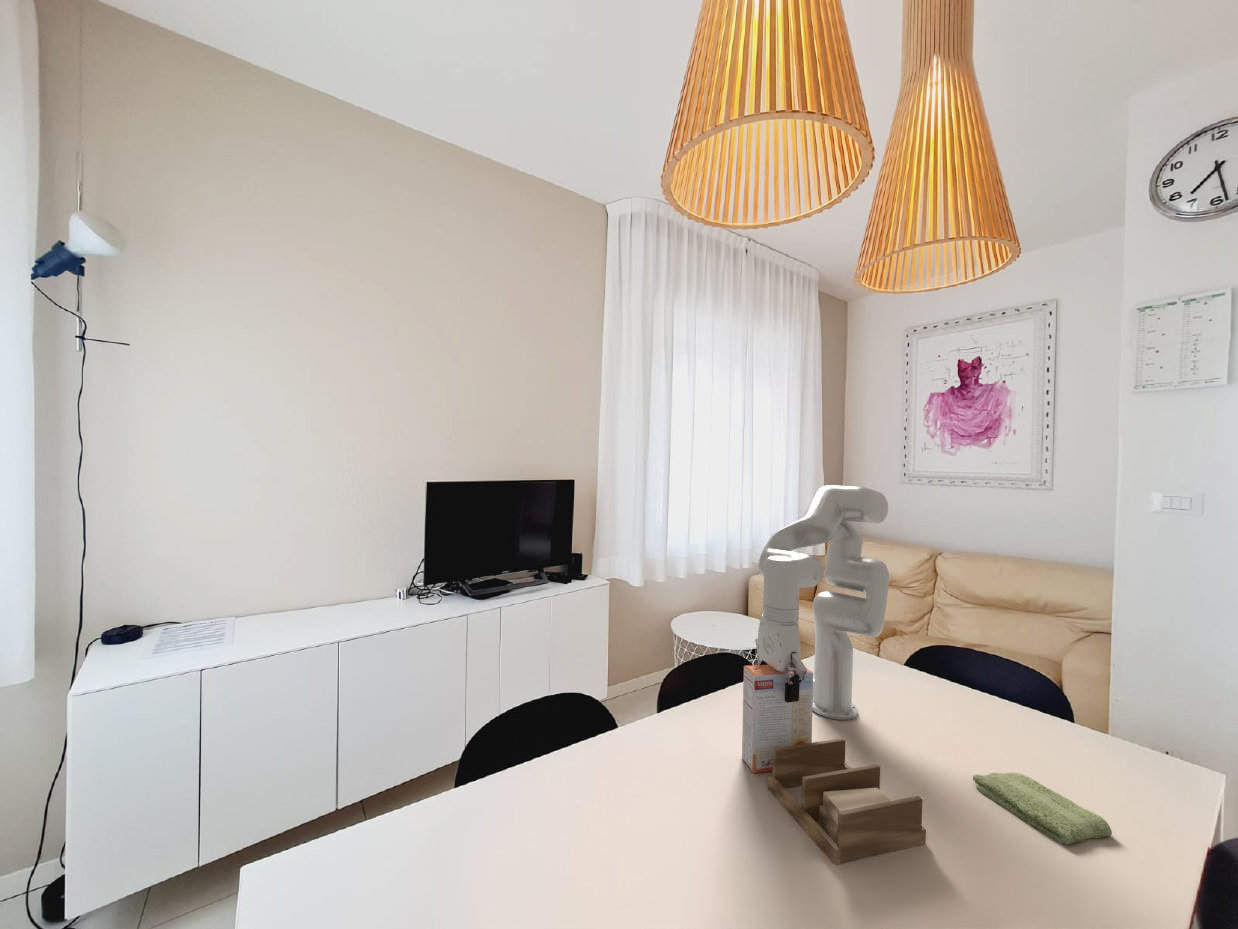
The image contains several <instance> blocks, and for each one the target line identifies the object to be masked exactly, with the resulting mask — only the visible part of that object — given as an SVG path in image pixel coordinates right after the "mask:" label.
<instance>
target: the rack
mask: <svg viewBox="0 0 1238 929" xmlns="http://www.w3.org/2000/svg"><path fill="white" fill-rule="evenodd" d="M846 741H847V740H846V739H845V738H843V737H841V738H836V739H834V738H833V739H828V740H821V741H812V743H806V744H800V745H793V746H786V747H779V748H773V771H772V775H768V776H767V790H768V791H769V792H770V793H771V794H772V795H773V796H774V797H775V799H776V800H777V801H778V802H779V803H780V805H782V806H783V808H784V809H785V810H786V811H787V812H788V814H790V816H792V818H793V819H794V820H795V821H796V822H797V824H798V825H799V826H800V827H801V828H802V829H803V830H804V832H805V833H806V834H807V835H808V836H809V837H810V839H812V841H813V842H814V843H815V844H816V845H817V847H818V848H819V849H821V851H822V852H823V853H824V854H825V856H827V858H828V859H829V860H830V861H831V862H832V864H834V866H836V865H840V864H845V863H848V862H854V861H857V860H862V859H866V858H867V859H868V858H871V857H874V856H879V855H883V854H887V853H891V852H897V851H899V850H904V849H908V848H909V849H910V848H913V847H917V846H922V845H926V840H927V839H926V838H927V828H925V827H924V826H923V824H922V823H923V798H922V797H921V796H920V795H915V796H911V797H906V798H905V797H904V798H901V799H895V800H891V801H889V802H884V803H879V804H874V805H869V806H864V807H859V808H854V809H849V810H844V811H839V812H838V830H837V844H836V843H835V842H834V841H833V840H832V839H831V838H830V837H829V835H828V834H827V832H826V831H825V829H824V828H823V827H821V826H820V825H819V824H818V823H817V821H818V822H819V806H823V792H828V791H840V790H853V789H865V788H878V789H879V790H880V789H881V766H880V765H879V764H870V765H866V766H858V767H853V768H852V767H851V766H850V765H849V764H847V762H846ZM797 787H801V805H800V803H799V802H798V801H797V800H796V799H795V798H794V797H793V795H791V793H790V792H789V791H787V789H789V788H797ZM880 791H881V790H880Z"/></svg>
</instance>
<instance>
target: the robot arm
mask: <svg viewBox="0 0 1238 929" xmlns="http://www.w3.org/2000/svg"><path fill="white" fill-rule="evenodd" d="M888 513H889V504H888V499H887V498H886V496H885V495H884V494H883V493H882V492H880V491H877V490H875V489H872V488H868V487H863V486H855V485H854V486H852V485H836V484H835V485H833V484H831V485H830V484H829V485H824V486H822V487H820V488H818V490H816V491H815V493H814V496H813V497H812V499H811V501H810V503H809V504H808V506H807V508H806V509H805V512H804V513H803V515H802V517H801V519H798V520H795V521H794V522H792V523H790V524H788V525H786V526H785V527H782V528H781V529H779V530H777V531H776V532H775V533H773V534H772V535H771V537H770V538H769V539H768V541H767V543H766V544H765V546H764V547H763V549H762V552H761V553H760V555H759V556H760V557H759V559H758V570H759V573H760V575H761V576H762V577H763V593H762V594H763V595H762V596H763V597H762V599H763V600H762V614H761V616H760V621H759V625H758V631H757V633H758V634H757V638H756V639H755V640H754V641H755V646H756V655H757V656H758V657H757V662H758V665H770V666H771V667H773V668H774V669H776V670H777V671H779V672H783V671H784V674H785V677H786V680H787V683H785V701H786V702H787V703H789V702H797V701H799V687H800V684H801V683H802V681H803V680H804V676H805V674H806V672H807V669H808V668H807V667H806V666H805V664H804V663H803V661H802V660H801V655H802V654H801V636H800V634H801V633H800V627H799V615H800V614H799V610H800V589H807V588H810V589H811V588H813V587H815V586H817V585H818V584H820V583H821V581H822V580H823V577H824V579H825V580H824V581H825V582H826V583H827V584H828V585H829V586H832V587H833V588H834V587H835V588H837V589H838V588H839V589H843V590H846V591H851V592H857V593H862V594H864V595H865V597H861V596H855V595H851V594H845V593H842V592H837V591H836V592H835V591H828V590H827V591H822V592H821V591H820V592H819V593H818V594H816V595H815V597H814V598H813V600H812V601H813V602H812V614H813V621H814V630H815V633H814V634H815V635H814V636H815V639H814V640H815V643H814V644H815V647H814V671H813V706H812V712H815V713H816V714H818V715H820V716H823V717H826V718H829V719H833V720H841V721H848V720H852V719H855V718H856V717H858V713H859V712H858V711H859V710H858V707H857V706H856V705H855V704H854V703H853V702H852V698H853V671H854V670H853V669H854V668H853V667H854V666H853V665H854V647H853V646H854V645H853V642H852V640H851V638H850V636H849V634H848V633H852V634H856V635H860V636H864V637H870V638H877V637H878V636H880V635H881V633H882V632H883V629H884V625H885V619H886V611H887V610H886V609H887V601H888V593H889V586H890V574H889V568H888V566H887V565H886V563H884V561H883V560H880V559H877V558H871V557H866V556H865V557H864V556H862V551H863V550H862V547H863V538H862V535H861V534H860V532H859V530H858V529H857V528H856V526H855V525H854V524H853V523H852V522H854V523H855V522H858V523H866V524H876V525H877V524H881V523H883V522H884V521H885V520H886V518H887V516H888ZM827 542H828V548H827V553H826V561H825V565H823V562H822V560H821V559H820V558H818V557H817V556H815V555H812V554H809V553H804V552H797V551H793V550H796V549H802V548H807V547H813V546H818V545H821V544H826V543H827ZM824 566H825V567H824ZM847 632H848V633H847ZM788 667H790V668H788ZM806 668H807V669H806ZM789 672H793V673H794V675H793V676H792V677H791V675H790V673H789Z"/></svg>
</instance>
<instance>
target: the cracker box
mask: <svg viewBox="0 0 1238 929" xmlns="http://www.w3.org/2000/svg"><path fill="white" fill-rule="evenodd" d="M788 668H790V667H788ZM806 669H807V672H806V674H805V676H804V680H803V681H802V683H801V684H800V687H799V701H797V702H789V703H787V702H786V701H785V683H787V680H786V677H785V674H784V671H783V672H779V671H777V670H776V669H774V668H773V667H771V666H770V665H759V664H754V665H744V666H743V683H742V684H743V686H742V689H743V691H742V692H743V693H742V695H743V696H742V735H741V736H742V741H741V745H742V746H741V758H742V760H743V761H744V763H745V764H746V765H747V767H748V768H749V769H750V771H751V772H752V773H753V774H758V773H767V772H768V773H769V772H773V748H779V747H786V746H793V745H800V744H806V743H813V741H812V740H813V710H812V706H813V680H814V671H812V670H811V669H809V668H808V667H806ZM789 673H790V675H791V677H792V676H793V675H794V673H793V672H789Z"/></svg>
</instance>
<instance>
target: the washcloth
mask: <svg viewBox="0 0 1238 929" xmlns="http://www.w3.org/2000/svg"><path fill="white" fill-rule="evenodd" d="M972 781H973V782H974V783H975V784H976V790H977V791H978V792H979V793H981V794H983V795H984V796H985V797H987V798H989V799H990V800H992V801H994V802H995V803H996V804H998V805H1000V806H1001V807H1003V808H1005V810H1008V811H1009V812H1011V813H1012V814H1014V815H1015V816H1017V817H1018V818H1020V819H1022V820H1023V821H1024V822H1026V823H1028V824H1029V825H1030V826H1033V827H1034V828H1035V829H1038V831H1040V832H1042V833H1044V834H1045V835H1046V836H1047V837H1050V838H1052V839H1053V840H1054V841H1056V842H1057V843H1060V844H1063V845H1067V846H1068V845H1070V844H1071V845H1073V844H1074V843H1080V842H1082V843H1083V842H1084V841H1085V840H1087V839H1099V838H1104V837H1105V838H1107V837H1110V836H1111V835H1112V834H1113V831H1112V829H1111V826H1110V824H1109V823H1108V821H1106V820H1105V819H1104V818H1103V817H1102V816H1100V815H1099V814H1097V813H1095V812H1094V811H1091V810H1088V809H1086V808H1084V807H1083V806H1080V805H1079V804H1077V803H1075V802H1074V801H1072V800H1071V799H1069V798H1068V797H1066V796H1063V795H1062V794H1059V793H1057V792H1055V791H1053V790H1051V789H1050V788H1048V787H1046V786H1045V785H1043V784H1041V783H1040V782H1038V781H1037V780H1035V779H1033V778H1031V777H1030V776H1028V775H1026V774H1023V773H1018V772H1014V771H1013V772H1011V771H1010V772H1005V773H1003V772H989V774H985V775H982V774H973V775H972Z"/></svg>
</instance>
